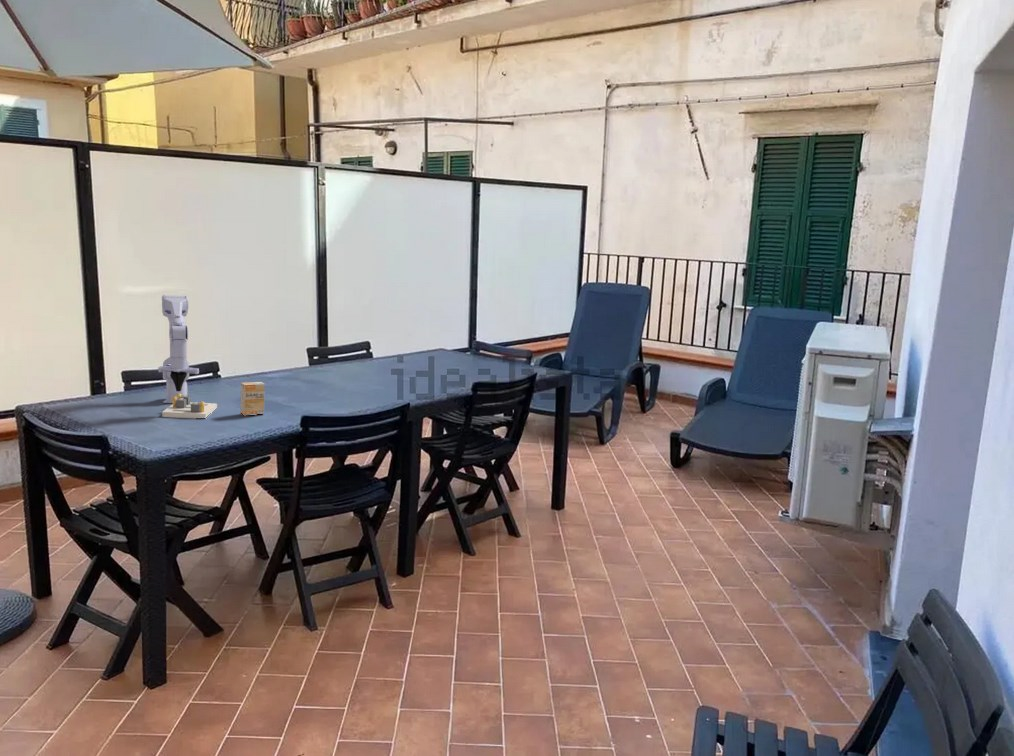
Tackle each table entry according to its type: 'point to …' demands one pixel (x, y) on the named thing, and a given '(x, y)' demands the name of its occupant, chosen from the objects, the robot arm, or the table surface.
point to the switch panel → (188, 410)
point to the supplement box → (252, 398)
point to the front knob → (195, 407)
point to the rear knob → (186, 399)
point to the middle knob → (181, 403)
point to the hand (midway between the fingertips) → (178, 390)
